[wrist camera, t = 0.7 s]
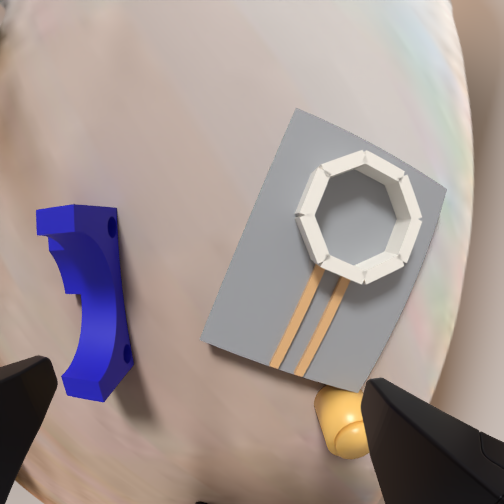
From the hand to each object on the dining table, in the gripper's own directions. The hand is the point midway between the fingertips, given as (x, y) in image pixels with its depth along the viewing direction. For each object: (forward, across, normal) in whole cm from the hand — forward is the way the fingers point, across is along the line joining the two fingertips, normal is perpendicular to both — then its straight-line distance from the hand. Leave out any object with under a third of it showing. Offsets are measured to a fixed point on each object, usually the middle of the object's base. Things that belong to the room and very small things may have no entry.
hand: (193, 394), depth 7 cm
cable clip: (+14, +10, +2) cm, 17 cm away
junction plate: (+14, -7, 0) cm, 15 cm away
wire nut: (+12, -8, +11) cm, 19 cm away
